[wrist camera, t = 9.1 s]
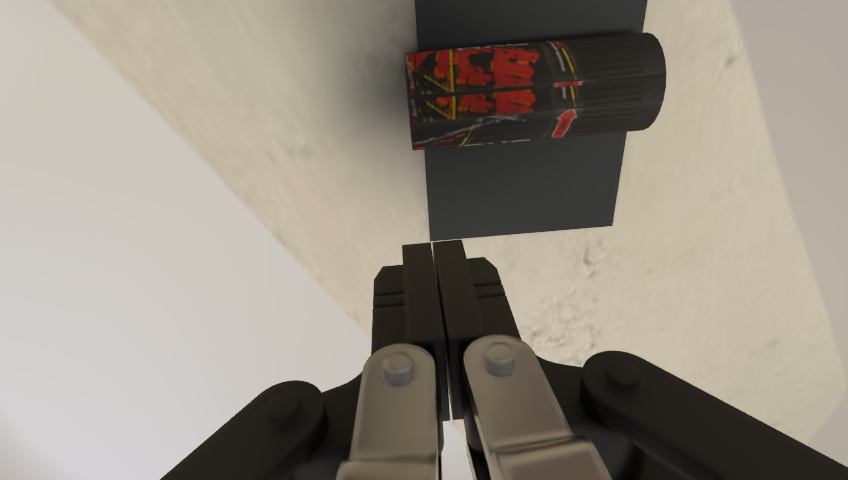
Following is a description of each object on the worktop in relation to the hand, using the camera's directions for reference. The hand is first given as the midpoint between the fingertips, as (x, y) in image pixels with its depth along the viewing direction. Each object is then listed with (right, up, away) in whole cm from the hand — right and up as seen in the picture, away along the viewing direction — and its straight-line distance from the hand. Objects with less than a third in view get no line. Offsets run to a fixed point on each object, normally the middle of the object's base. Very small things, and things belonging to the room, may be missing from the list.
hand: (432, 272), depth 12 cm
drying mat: (+7, +10, +22) cm, 26 cm away
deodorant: (-1, +9, +18) cm, 21 cm away
